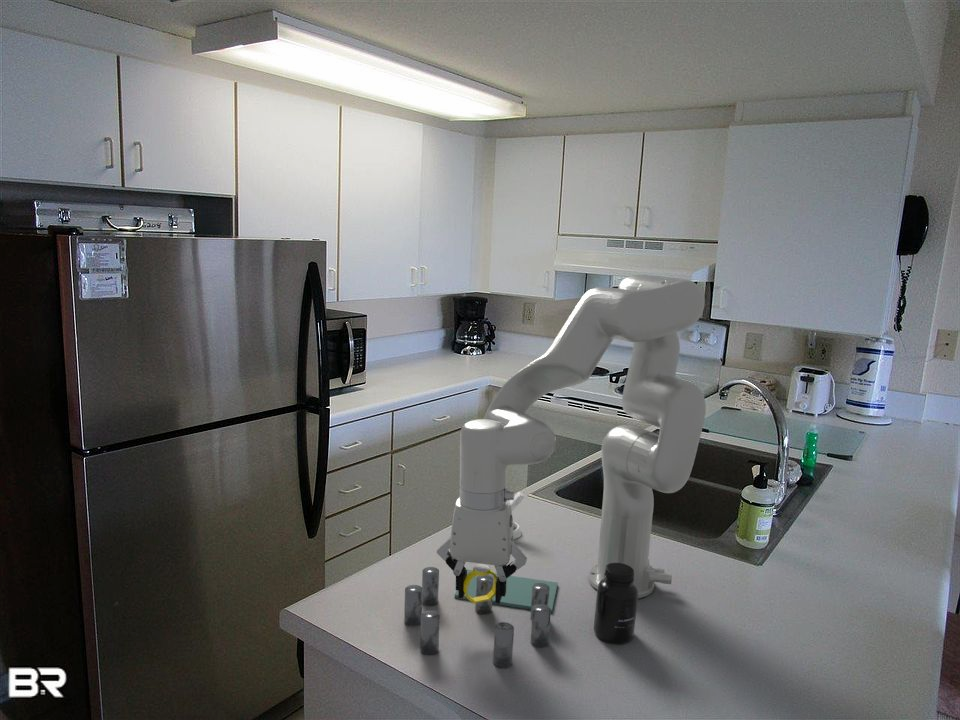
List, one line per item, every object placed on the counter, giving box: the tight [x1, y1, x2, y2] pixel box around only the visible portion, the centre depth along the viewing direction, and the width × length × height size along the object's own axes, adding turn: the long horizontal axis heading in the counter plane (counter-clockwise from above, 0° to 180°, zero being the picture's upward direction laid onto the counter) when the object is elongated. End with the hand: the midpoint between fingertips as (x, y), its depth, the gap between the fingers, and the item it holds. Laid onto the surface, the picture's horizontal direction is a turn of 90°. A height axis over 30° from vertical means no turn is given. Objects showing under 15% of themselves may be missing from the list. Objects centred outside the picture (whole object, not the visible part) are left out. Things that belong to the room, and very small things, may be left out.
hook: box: [508, 491, 525, 540], centre depth 153 cm, size 8×12×7 cm
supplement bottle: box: [593, 563, 639, 645], centre depth 116 cm, size 7×7×12 cm
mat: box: [454, 568, 559, 614], centre depth 129 cm, size 18×10×1 cm, turn 78°
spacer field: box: [403, 566, 552, 669], centre depth 115 cm, size 25×17×6 cm
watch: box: [463, 563, 497, 604], centre depth 114 cm, size 6×3×6 cm, turn 111°
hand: (480, 595), depth 115 cm, fingers closed on watch, 5 cm apart
